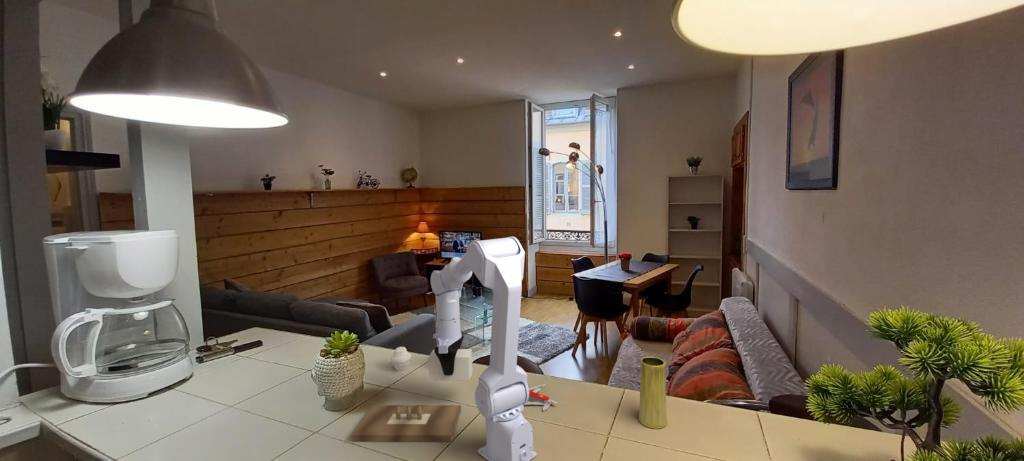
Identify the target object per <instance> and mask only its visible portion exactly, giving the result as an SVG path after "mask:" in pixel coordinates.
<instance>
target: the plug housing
mask: <svg viewBox="0 0 1024 461" xmlns="http://www.w3.org/2000/svg"><path fill="white" fill-rule="evenodd" d="M434 349H435V348H434ZM434 349H432V351H431V352H430V354H429V355H428V357H427V362H428V363H427V365H428V376H429V377H428V381H429V382H464V381H465V382H469V381H470V380H471V378H472V374H473V372H474V371H473V352H472V351H473V350H472V349H471V348H468V349H467V348H466V349H465V348H464V349H463V348H460V349H458V351H457V353H456V357H455V363H454V372H453V375H444V373H443V370H442V366H441V363H440V361H439V359H438V357H437V356H436V354H435V352H434Z"/></svg>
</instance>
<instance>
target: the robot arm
mask: <svg viewBox="0 0 1024 461" xmlns="http://www.w3.org/2000/svg"><path fill="white" fill-rule="evenodd" d="M525 256H526V252H525V250H524V248H523V246H522V244H521V242H520V240H518V238H517V237H515V236H511V235H510V236H508V237H501V238H492V239H484V240H478V239H477V240H475V239H474V240H472V241H471V242H470V243H469V244H467V245H466V252H465V253H464V255H463V256H462V257H458V256H456V257H451V259H450V260H451V261H450V262H449V263H448V264H446V265H444V267H443V268H442V269H441V270H433V271H432V272H431V274H430V275H431V276H430V286H431V290H432V292H433V293H434V294H435V309H436V310H435V311H436V312H435V313H436V327H437V330H436V331H437V332H435V333H434V334H433V335H432V339H437V342H438V345H437V346H435V348H434V352H435V354H436V356H437V357H438V359H439V361H440V363H441V366H442V370H443V373H444V375H453V372H454V363H455V357H456V353H457V351H458V349H461V347H462V342H463V340H464V339H465V336H464V335H463V334H462V331H461V330H462V329H461V311H460V308H461V307H460V299H461V297H462V289H463V287H464V286H463V285H464V284H465V283H466V282H468V280H470V278H471V277H472V275H473V274H474V275H475V276H476V278H477V279H478V280H479V282H480V284H481V285H482V286H483V287H485V288H487V289H490V290H492V293H493V294H492V310H491V311H492V312H491V313H492V314H491V332H490V333H491V335H490V350H489V351H490V353H489V356H490V357H489V365H488V366H487V367H486V369H485V370H484V371H483V372H482V373H481V374H480V375H479V377H478V384H477V387H476V389H475V392H474V401H475V404H476V407H477V410H478V412H479V413H480V414H481V415H482V416H483V417H484V419H485V420H484V421H485V435H486V436H485V441H486V445H483V446H482V447H480V448H479V449H478V450H477V453H478V454H479V455H481V456H482V457H483V458H484V459H486V460H487V461H532V459H534V458H535V457H537V452H536V451H535V450H534V431H533V426H532V424H531V423H530V422H529V421H528V420H527V419H526V418H525V417H524V414H522V413H523V411H524V410H525V405H524V404H525V403H527V402H529V401H528V398H529V388H530V387H529V385H528V384H529V383H528V374H527V373H526V371H525V370H524V369H523V368H522V366H519V364H517V363H518V351H519V350H518V349H519V335H520V334H519V333H520V322H521V321H520V319H521V307H522V306H521V304H522V302H521V300H522V291H523V289H522V288H523V287H522V285H523V284H522V283H523V282H522V281H523V279H524V271H525V270H524V269H525V258H526V257H525Z"/></svg>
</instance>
